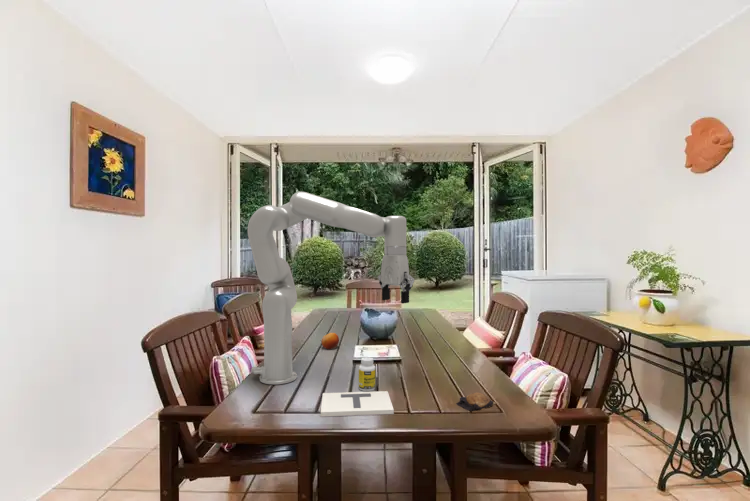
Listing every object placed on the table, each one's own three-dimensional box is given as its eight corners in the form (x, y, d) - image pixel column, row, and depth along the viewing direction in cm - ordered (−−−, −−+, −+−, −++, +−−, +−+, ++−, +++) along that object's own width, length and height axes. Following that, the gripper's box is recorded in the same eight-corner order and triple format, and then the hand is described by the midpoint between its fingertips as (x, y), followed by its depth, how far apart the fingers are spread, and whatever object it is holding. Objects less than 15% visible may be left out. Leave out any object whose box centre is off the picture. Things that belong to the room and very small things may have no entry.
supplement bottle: (363, 392, 127) (363, 361, 126) (355, 387, 131) (355, 357, 131) (378, 390, 129) (378, 359, 129) (370, 384, 134) (370, 355, 134)
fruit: (342, 347, 177) (333, 331, 177) (327, 356, 177) (317, 340, 177) (344, 342, 185) (335, 327, 185) (329, 351, 185) (320, 336, 185)
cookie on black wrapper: (475, 397, 125) (475, 385, 125) (498, 406, 118) (498, 393, 118) (452, 405, 118) (452, 393, 118) (475, 415, 112) (475, 401, 112)
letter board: (320, 416, 109) (320, 411, 109) (322, 397, 123) (322, 392, 123) (393, 414, 111) (393, 408, 111) (387, 394, 125) (387, 390, 125)
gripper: (371, 251, 143) (371, 299, 143) (405, 252, 129) (404, 305, 130) (387, 251, 148) (386, 297, 148) (421, 252, 134) (421, 303, 135)
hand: (395, 301), depth 139 cm, fingers open, 9 cm apart
